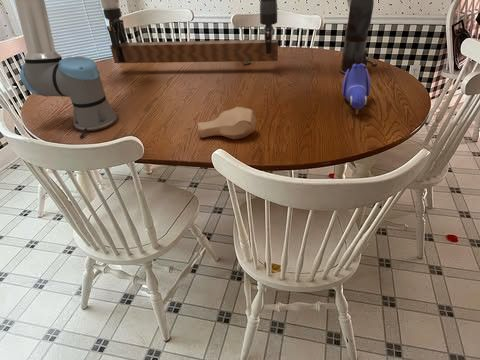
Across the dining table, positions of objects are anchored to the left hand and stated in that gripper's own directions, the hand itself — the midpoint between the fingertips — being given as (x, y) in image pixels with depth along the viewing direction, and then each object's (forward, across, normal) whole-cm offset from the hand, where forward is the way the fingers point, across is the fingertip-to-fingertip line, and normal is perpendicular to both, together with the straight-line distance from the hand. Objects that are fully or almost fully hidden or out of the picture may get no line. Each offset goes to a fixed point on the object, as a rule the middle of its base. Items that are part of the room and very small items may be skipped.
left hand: (124, 60), depth 174 cm
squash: (+6, -62, -60) cm, 87 cm away
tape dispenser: (+7, +21, -56) cm, 60 cm away
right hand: (-3, 0, -71) cm, 71 cm away
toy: (+7, -40, -105) cm, 112 cm away
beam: (+1, 0, -35) cm, 35 cm away
